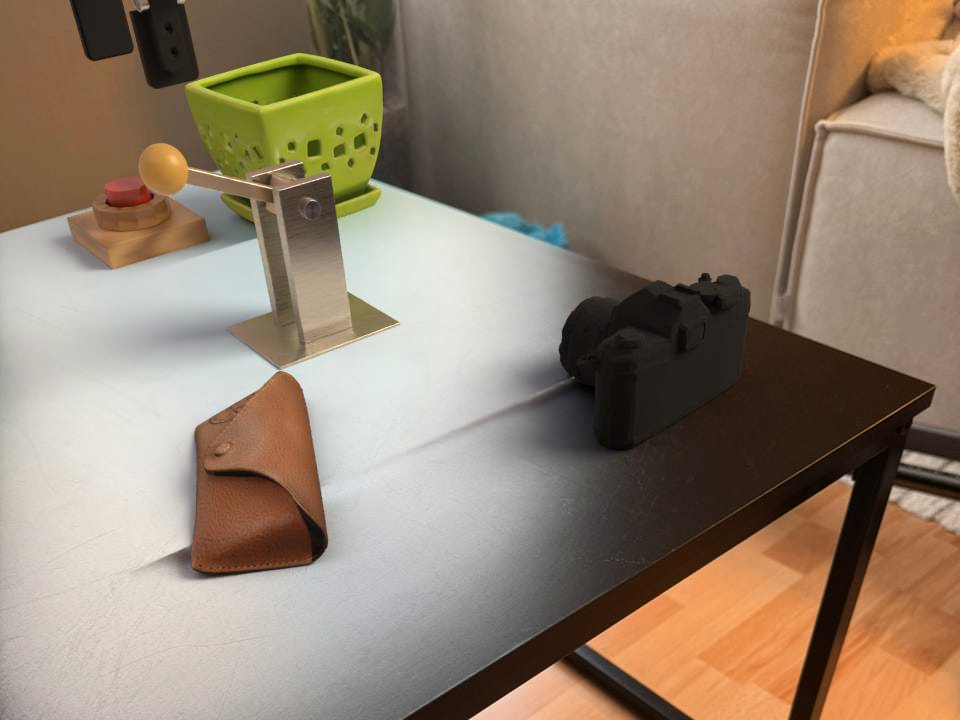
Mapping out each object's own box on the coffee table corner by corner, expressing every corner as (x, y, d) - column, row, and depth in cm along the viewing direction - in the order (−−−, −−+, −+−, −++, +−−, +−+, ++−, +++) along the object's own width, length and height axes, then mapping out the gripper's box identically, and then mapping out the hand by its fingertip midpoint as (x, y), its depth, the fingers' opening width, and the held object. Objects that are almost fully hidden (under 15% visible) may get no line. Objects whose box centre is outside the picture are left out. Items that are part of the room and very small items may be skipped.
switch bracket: (283, 381, 77) (249, 210, 68) (228, 341, 82) (191, 177, 74) (402, 336, 82) (384, 170, 73) (343, 300, 87) (320, 142, 78)
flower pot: (321, 181, 109) (302, 48, 100) (401, 214, 101) (387, 73, 92) (208, 218, 102) (177, 79, 94) (283, 256, 95) (257, 108, 86)
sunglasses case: (186, 422, 72) (216, 340, 68) (279, 452, 75) (313, 376, 72) (188, 578, 59) (226, 487, 56) (302, 606, 62) (344, 522, 59)
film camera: (654, 338, 79) (663, 222, 73) (757, 379, 74) (776, 258, 68) (517, 412, 72) (514, 290, 66) (620, 463, 67) (628, 336, 61)
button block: (112, 270, 94) (100, 227, 91) (73, 239, 100) (60, 198, 97) (210, 241, 98) (200, 198, 95) (166, 213, 104) (156, 172, 101)
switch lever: (147, 195, 66) (154, 144, 65) (127, 183, 68) (134, 133, 67) (314, 231, 75) (323, 186, 74) (292, 219, 77) (301, 175, 76)
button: (119, 213, 94) (113, 194, 93) (102, 202, 97) (97, 183, 96) (158, 202, 96) (154, 183, 95) (141, 192, 99) (136, 173, 97)
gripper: (-74, -290, 56) (36, 59, 67) (33, -305, 45) (142, 110, 57) (57, -298, 59) (141, 36, 70) (186, -314, 48) (259, 81, 60)
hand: (141, 69), depth 64 cm, fingers open, 9 cm apart
